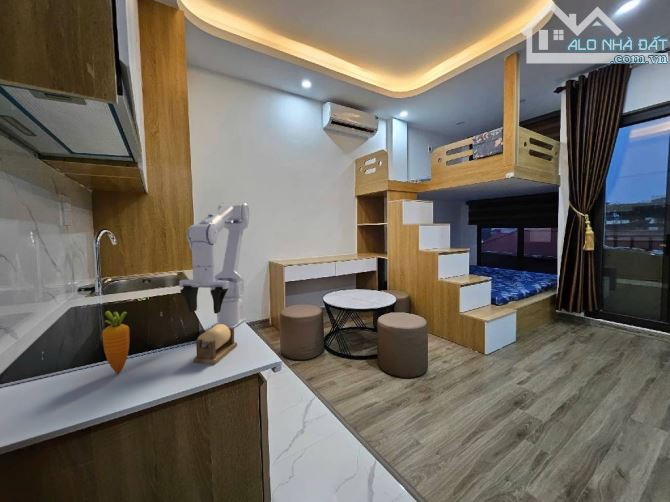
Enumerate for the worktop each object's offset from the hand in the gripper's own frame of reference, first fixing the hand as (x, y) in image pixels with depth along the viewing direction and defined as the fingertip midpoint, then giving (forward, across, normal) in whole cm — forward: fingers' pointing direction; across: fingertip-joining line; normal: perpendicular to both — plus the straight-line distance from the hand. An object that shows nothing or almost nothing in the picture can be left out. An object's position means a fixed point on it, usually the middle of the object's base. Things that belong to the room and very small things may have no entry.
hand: (205, 311), depth 83 cm
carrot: (+10, -10, -19) cm, 24 cm away
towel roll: (+5, +6, -6) cm, 10 cm away
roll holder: (+9, +7, -6) cm, 13 cm away
